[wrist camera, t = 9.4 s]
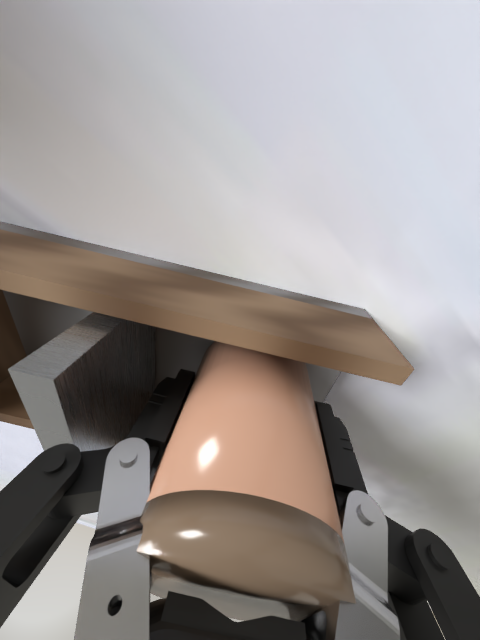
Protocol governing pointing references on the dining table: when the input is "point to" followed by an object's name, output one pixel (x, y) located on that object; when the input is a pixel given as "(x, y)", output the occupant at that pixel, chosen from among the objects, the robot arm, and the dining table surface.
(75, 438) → the plate
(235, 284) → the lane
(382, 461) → the dining table surface
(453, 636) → the robot arm
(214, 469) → the jar
